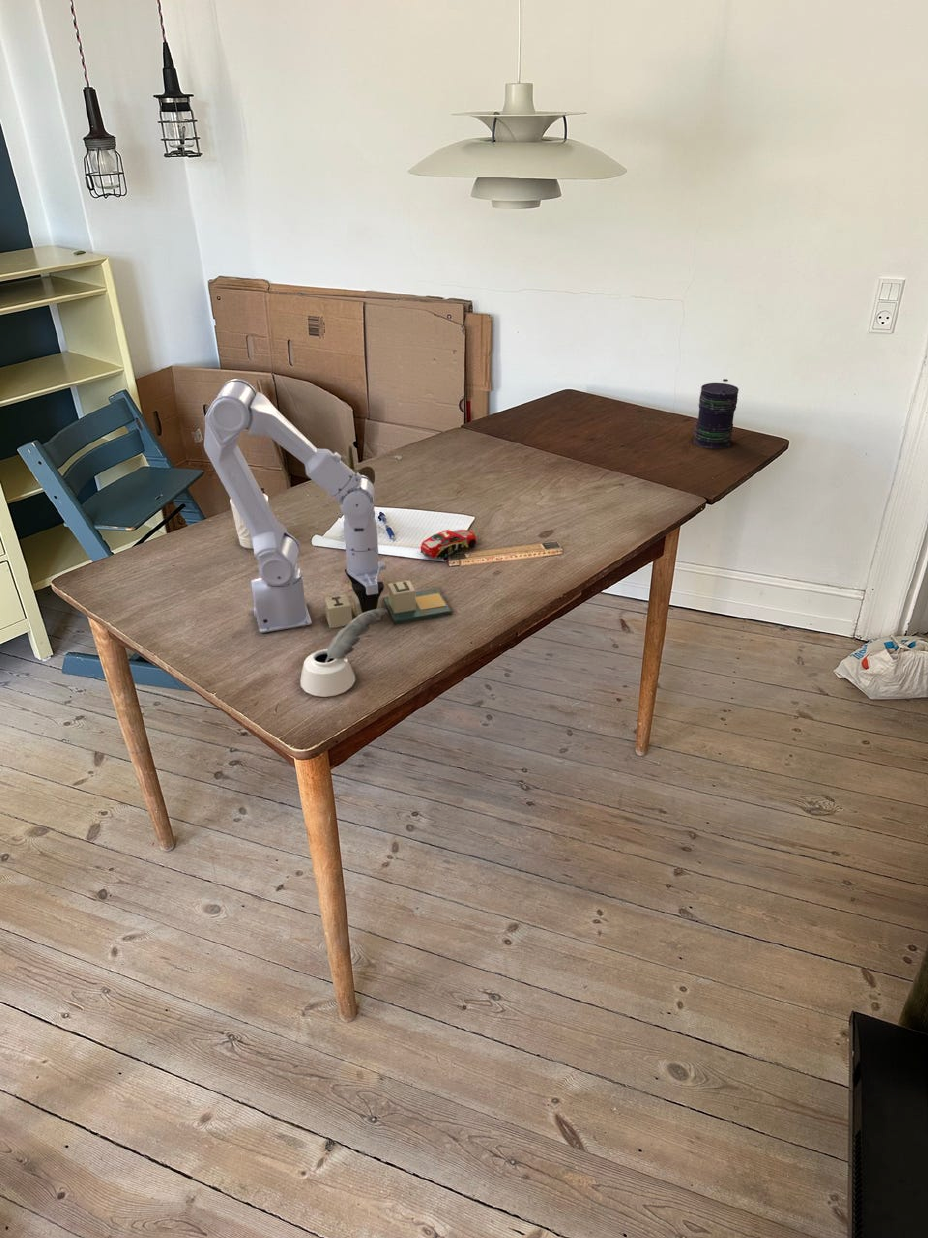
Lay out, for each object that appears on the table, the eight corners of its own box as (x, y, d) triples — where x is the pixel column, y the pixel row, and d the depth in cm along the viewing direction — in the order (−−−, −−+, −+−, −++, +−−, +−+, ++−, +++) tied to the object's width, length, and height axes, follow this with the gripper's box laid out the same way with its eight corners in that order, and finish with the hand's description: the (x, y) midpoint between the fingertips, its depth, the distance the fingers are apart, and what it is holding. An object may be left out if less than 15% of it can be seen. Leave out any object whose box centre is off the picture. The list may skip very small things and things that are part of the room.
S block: (358, 623, 163) (356, 603, 161) (353, 612, 167) (351, 592, 165) (380, 619, 165) (379, 599, 162) (375, 608, 168) (373, 588, 166)
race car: (466, 536, 194) (466, 519, 192) (481, 545, 190) (481, 528, 188) (416, 553, 187) (416, 536, 185) (431, 562, 183) (430, 545, 181)
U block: (394, 613, 165) (393, 593, 162) (389, 602, 168) (387, 582, 166) (416, 610, 166) (415, 590, 164) (410, 599, 169) (409, 579, 167)
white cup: (229, 546, 190) (222, 504, 185) (249, 531, 196) (243, 490, 191) (261, 552, 188) (255, 509, 183) (280, 536, 194) (275, 494, 189)
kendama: (352, 520, 201) (345, 436, 190) (381, 533, 195) (375, 447, 185) (332, 529, 197) (324, 443, 187) (360, 542, 192) (354, 455, 181)
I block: (330, 628, 162) (327, 608, 160) (325, 617, 165) (323, 597, 163) (352, 624, 163) (350, 604, 161) (347, 613, 167) (346, 593, 164)
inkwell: (289, 681, 148) (282, 631, 143) (371, 639, 159) (368, 591, 154) (322, 705, 142) (316, 653, 137) (405, 659, 153) (403, 610, 148)
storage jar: (688, 436, 246) (697, 371, 236) (722, 434, 246) (732, 370, 237) (700, 449, 237) (710, 383, 228) (736, 447, 238) (746, 381, 228)
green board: (394, 624, 163) (394, 620, 163) (383, 600, 170) (383, 596, 170) (451, 614, 166) (451, 610, 165) (437, 591, 173) (437, 587, 173)
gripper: (393, 559, 153) (396, 625, 160) (374, 524, 165) (378, 587, 172) (353, 565, 151) (358, 632, 158) (336, 529, 163) (342, 593, 170)
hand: (366, 609), depth 165 cm, fingers closed on S block, 4 cm apart
